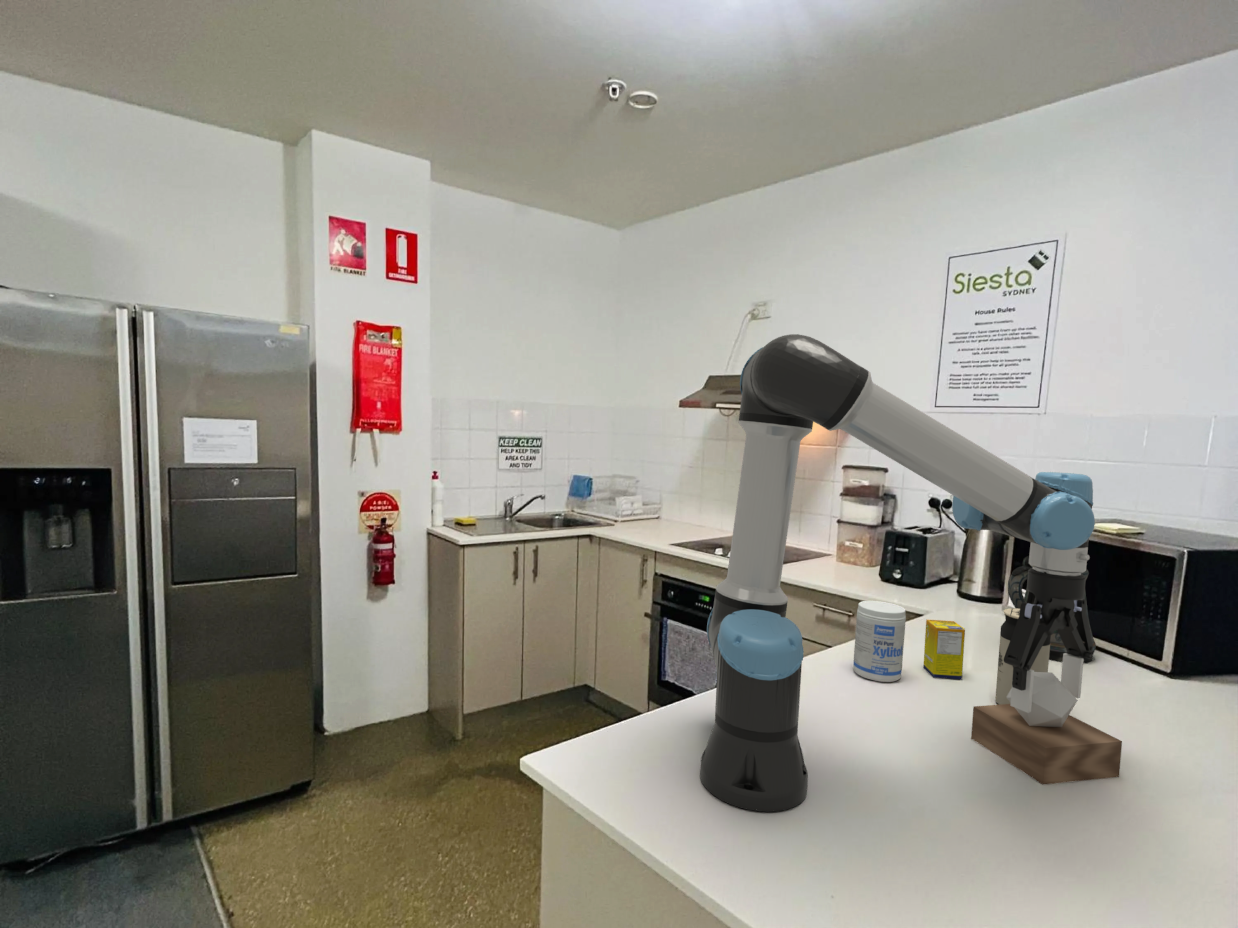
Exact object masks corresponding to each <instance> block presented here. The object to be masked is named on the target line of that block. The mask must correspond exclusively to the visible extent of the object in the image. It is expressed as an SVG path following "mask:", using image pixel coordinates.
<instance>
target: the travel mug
mask: <svg viewBox="0 0 1238 928" xmlns="http://www.w3.org/2000/svg"><path fill="white" fill-rule="evenodd" d="M1003 614H1004V618H1005V620H1004V622H1003V623H1002V624H1001V626H1000V632H999V633H1000V634H999V646H998V647H999V648H998V661H997V671H996V673H997V675H996V683H995V685H996V686H995V687H996V688H995V703H997V705H1001V704H1011V703H1010V701H1009V700H1008V699H1007V698H1006V697H1007V695H1008V693H1009V692H1010V690H1011V688H1012V678H1013V666H1012V665H1009V664H1007V663H1005V662H1004V657H1005V654H1006V651H1007V648H1008V646H1009V643H1010V640H1011V637H1012V635H1013V632H1014V629H1015V626H1016V624H1017V621H1018V618H1019V614H1020V609H1016V608H1015V607H1014V608H1006V609H1004V610H1003ZM1050 639H1051V635H1050V636H1047V638H1046V640H1045V642H1044V644H1043V646H1042V648H1041V650H1040V651H1039V653H1038V655H1037V657H1036V659H1035V661H1034V663H1033V665H1032V667H1031V668H1030V669H1031V670H1034V672H1049V661H1050V660H1049V652H1050Z"/></svg>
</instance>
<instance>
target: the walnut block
mask: <svg viewBox="0 0 1238 928" xmlns="http://www.w3.org/2000/svg"><path fill="white" fill-rule="evenodd" d="M972 708H973V710H972V723H971V738H970V739H971V740H973V741H974V742H976V743H977V744H979V745H980V746H982V747H984V748H985V749H987V750H988V751H990V752H991V753H993V754H995V755H996V756H998V757H999V758H1001V759H1002V760H1003V761H1005V762H1006V763H1008V764H1010V765H1011V766H1012V767H1015V768H1016V769H1017V770H1019V771H1021V772H1022V773H1024V774H1025V775H1027V776H1029V777H1030V778H1032V779H1033V780H1035V781H1036V782H1038V783H1039V784H1041V785H1051V784H1053V785H1054V784H1064V783H1073V782H1081V781H1082V782H1083V781H1084V782H1085V781H1092V780H1093V781H1094V780H1100V779H1102V780H1103V779H1112V778H1113V779H1114V778H1119V777H1120V771H1121V770H1120V769H1121V760H1122V749H1123V748H1122V747H1123V746H1122V745H1123V741H1122V740H1121V739H1118V738H1117V737H1115V736H1113V735H1111V734H1108V733H1107V732H1104V731H1103V730H1101V729H1099V728H1096V727H1095V726H1093V725H1091V724H1088V723H1087V722H1085V721H1083V720H1081V719H1078V718H1076V717H1074V716H1072V715H1070V714H1069V716H1068V717H1067V719H1066V721H1065V722H1064V724H1063V725H1062V727H1045V726H1029V725H1028V723H1027V722H1026V721H1025V720H1024V718H1023V717H1022V716H1021V715H1020V714H1019V712H1018V711H1017V710H1016V709H1015V708H1014V707H1012V706H1010V704H1001V705H999V704H991V705H977V706H975V705H973V707H972Z"/></svg>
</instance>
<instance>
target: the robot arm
mask: <svg viewBox="0 0 1238 928" xmlns="http://www.w3.org/2000/svg"><path fill="white" fill-rule="evenodd" d="M739 379H740V380H739V386H740V388H739V390H740V393H741V399H740V400H741V401H740V407H739V414H738V415H739V416H738V424H739V425H740V427H741V428H742V429H743V431H744V433H745V441H744V447H743V448H744V449H743V457H742V465H741V470H740V471H741V472H740V478H739V484H738V493H737V501H736V509H735V514H734V515H735V516H734V523H733V528H732V537H731V544H730V545H731V546H730V552H729V557H728V558H729V560H728V567H727V575H726V578H725V579H724V580H722V581H721V582H719V583H718V584H717V585H716V587H715V594H714V601H713V608H712V609H711V612H710V613H709V617H708V618H707V625H706V636H707V637H706V638H707V640H708V643H709V647H710V649H711V653H712V657H713V660H714V664H715V669H716V691H715V706H714V707H715V711H714V724H713V727H712V730H711V732H710V735H709V738H708V741H707V744H706V747H705V749H704V750H703V753H702V755H701V758H700V767H699V770H700V771H699V777H700V781H701V783H702V784H703V786H704V787H705V789H706V790H707V791H708V792H709V793H711V794H712V795H713V796H714V797H716V798H717V799H719V800H721V801H723V802H725V803H727V804H729V805H731V806H735V807H738V808H741V809H745V810H749V811H755V812H756V811H757V812H769V813H770V812H780V811H784V810H788V809H789V810H790V809H792V808H795V807H796V806H798V805H799V804H801V803H802V802H804V800H805V799H806V798H807V794H808V786H809V785H808V784H809V775H808V770H807V766H806V764H805V760H804V759H805V758H804V753H803V750H802V747H801V744H800V739H799V736H798V735H799V734H798V732H799V731H798V730H799V729H798V728H799V717H800V715H799V714H800V712H799V711H800V699H801V698H800V697H801V683H802V682H801V681H802V680H801V679H802V667H803V666H802V665H803V664H802V663H803V661H804V647H803V646H804V645H803V635H802V632H801V630H800V628H799V627H798V626H797V624H796V623H795V622H794V621H792V619H790V618H787V611H788V610H787V609H788V607H787V606H788V603H789V598H788V595H786V594H785V592H784V591H783V589H782V588H781V582H782V574H783V567H784V559H785V552H786V546H787V539H788V532H789V525H790V518H791V517H790V516H791V511H792V503H793V497H794V496H793V495H794V491H795V490H794V489H795V482H796V476H797V475H796V474H797V467H798V461H799V455H800V454H799V452H800V446H801V441H802V440H803V439H805V437H807V436H808V435H809V434H811V433H812V432H813V427H814V426H813V425H814V424H815V423H816V424H817V425H819V426H821V427H823V428H824V429H826V430H827V431H829V432H831V431H836V430H842V431H844V432H845V433H847V434H848V435H850V436H852V437H853V438H855V439H856V440H859V441H860V442H862V443H864V444H865V445H867V446H869V447H870V448H872V449H874V450H876V451H877V452H879V453H881V454H882V455H884V456H885V457H888V458H889V459H891V460H892V461H894V462H895V463H897V464H899V465H901V466H903V467H904V468H907V470H909V471H912V472H913V473H914V474H917V475H918V476H920V477H921V478H923V479H925V480H926V481H928V482H930V483H931V484H933V485H934V486H937V487H938V488H940V489H942V490H943V491H945V492H947V493H948V494H950V495H952V504H951V510H952V514H953V518H954V520H955V522H956V524H957V525H958V526H959V527H960V528H963V529H967V530H976V531H977V532H978V531H979V532H980V531H992V532H997V533H1000V534H1003V535H1007V536H1010V537H1013V538H1016V539H1019V540H1023V541H1027V542H1029V543H1030V547H1029V553H1028V554H1029V555H1028V556H1029V564H1030V565H1031V566H1033V568H1030V569H1029V570H1028V579H1026V581H1027V583H1026V589H1028V591H1030V592H1031V593H1033V594H1034V595H1035V601H1034V604H1029V603H1025V602H1022V603H1021V607H1020V614H1019V618H1018V621H1017V624H1016V626H1015V629H1014V632H1013V635H1012V637H1011V640H1010V643H1009V646H1008V648H1007V651H1006V654H1005V657H1004V662H1005V663H1007V664H1009V665H1012V666H1013V678H1012V691H1011V704H1010V706H1012V707H1015V708H1017V709H1020V710H1022V711H1025V712H1027V713H1029V712H1031V705H1032V693H1033V680H1034V670H1031V669H1030V668H1031V667H1032V665H1033V663H1034V661H1035V659H1036V657H1037V655H1038V653H1039V651H1040V650H1041V648H1042V646H1043V644H1044V642H1045V640H1046V638H1047V636H1050V635H1052V634H1053V632H1054V631H1056V630H1057V631H1058V633H1059V635H1060V637H1061V639H1062V641H1063V644H1064V646H1065V648H1066V650H1067V652H1068V653H1070V654H1067V653H1064V654H1063V662H1061V663H1062V664H1061V677H1060V682H1061V683H1062V684H1063V685H1064V686H1065V687H1066V688H1067V689H1068V690H1069V691H1070V693H1071V694H1072V695H1073V696H1074V697H1075V698H1076V699H1081V694H1082V683H1083V682H1082V681H1083V670H1084V663H1083V661H1084V659H1083V657H1084V658H1088V659H1090V658H1091V657H1092V653H1091V652H1092V651H1093V644H1092V639H1091V634H1090V629H1089V624H1088V620H1087V615H1086V601H1087V598H1086V599H1083V598H1084V594H1085V592H1086V581H1087V579H1086V578H1085V577H1084V575H1082V574H1081V573H1083V572H1085V571H1086V569H1087V565H1088V563H1087V562H1088V561H1089V560H1090V558H1091V557H1090V555H1089V554H1088V550H1089V540H1090V537H1091V535H1092V534H1093V532H1094V528H1095V525H1096V524H1095V514H1094V512H1093V506H1094V502H1093V501H1094V500H1093V499H1094V497H1093V496H1094V494H1093V493H1094V489H1093V487H1094V486H1093V480H1092V479H1091V477H1090V476H1088V475H1087V474H1082V473H1074V472H1073V473H1071V472H1060V471H1059V472H1056V471H1054V472H1053V471H1052V472H1051V471H1039V472H1038V473H1037V474H1036V475H1035V478H1034V477H1031V476H1030V475H1028V474H1027V473H1025V472H1024V471H1022V470H1020V469H1018V468H1017V467H1015V466H1014V465H1012V464H1010V463H1008V462H1007V461H1005V460H1003V459H1002V458H1000V457H999V456H997V455H996V454H993V453H992V452H990V451H988V450H987V449H985V448H983V447H982V446H980V445H978V444H977V443H975V442H973V441H972V440H969V438H967V437H965V436H963V434H962V435H961V434H960V433H959V432H956V431H955V430H953V429H951V428H950V427H948V426H946V425H945V424H943V423H941V422H940V421H938V420H937V419H934V418H933V417H932V416H930V415H928V414H926V413H925V412H923V411H921V410H920V409H918V408H916V407H915V406H913V405H911V404H909V402H906V401H904V400H903V399H902V398H899V397H897V396H896V395H895V394H893V393H891V392H889V391H887V390H886V389H885V388H883V387H881V386H879V385H878V384H876V383H874V382H873V380H872V376H871V372H870V370H868V369H866V368H865V367H862V366H861V365H859V364H857V363H856V362H854V361H853V360H851V359H850V358H848V357H846V356H845V355H843V354H841V353H840V352H838V350H835V349H834V348H832V347H830V346H829V345H827V344H825V343H823V342H822V341H820V340H818V339H816V338H814V337H811V336H807V335H803V334H799V333H798V334H794V333H793V334H786V335H781V336H778V337H776V338H774V339H772V340H770V341H769V342H767V344H765V345H764V346H763V347H762V346H761V347H760V348H759V349H757V350H756V351H755V352H754V353H753V354H751V355H750V356H749V358H748V359H747V361H746V362H745V364H744V366H743V367H742V370H741V374H740V378H739ZM1082 641H1084V642H1085V643H1084V642H1082ZM1092 658H1093V657H1092Z"/></svg>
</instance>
